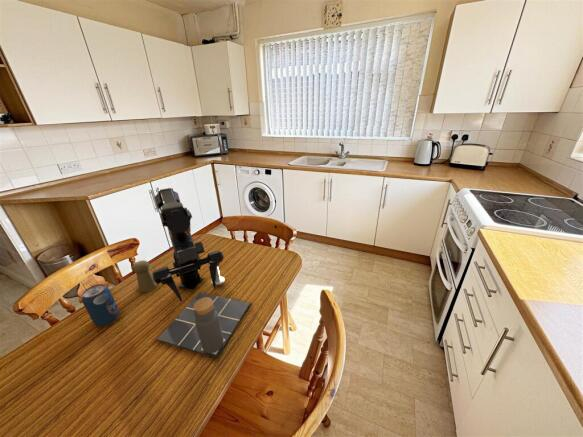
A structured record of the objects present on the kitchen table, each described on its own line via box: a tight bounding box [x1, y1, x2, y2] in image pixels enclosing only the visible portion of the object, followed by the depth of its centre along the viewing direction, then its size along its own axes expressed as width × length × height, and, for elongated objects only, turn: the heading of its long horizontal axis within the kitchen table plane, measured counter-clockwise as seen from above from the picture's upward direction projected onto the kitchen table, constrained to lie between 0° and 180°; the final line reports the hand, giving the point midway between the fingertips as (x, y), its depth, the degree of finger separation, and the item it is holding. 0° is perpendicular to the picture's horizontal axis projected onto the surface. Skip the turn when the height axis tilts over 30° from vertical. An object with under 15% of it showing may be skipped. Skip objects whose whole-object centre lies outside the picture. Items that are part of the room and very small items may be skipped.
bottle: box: [193, 297, 224, 353], centre depth 64 cm, size 6×6×15 cm
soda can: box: [81, 283, 120, 327], centre depth 74 cm, size 7×7×12 cm
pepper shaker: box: [132, 259, 158, 293], centre depth 88 cm, size 6×6×11 cm
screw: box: [216, 266, 226, 288], centre depth 88 cm, size 13×5×5 cm
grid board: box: [156, 292, 251, 359], centre depth 75 cm, size 20×20×1 cm
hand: (198, 294), depth 67 cm, fingers open, 9 cm apart
